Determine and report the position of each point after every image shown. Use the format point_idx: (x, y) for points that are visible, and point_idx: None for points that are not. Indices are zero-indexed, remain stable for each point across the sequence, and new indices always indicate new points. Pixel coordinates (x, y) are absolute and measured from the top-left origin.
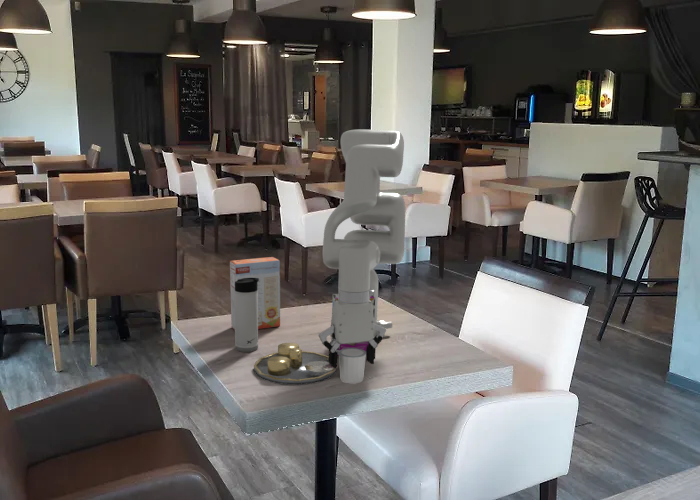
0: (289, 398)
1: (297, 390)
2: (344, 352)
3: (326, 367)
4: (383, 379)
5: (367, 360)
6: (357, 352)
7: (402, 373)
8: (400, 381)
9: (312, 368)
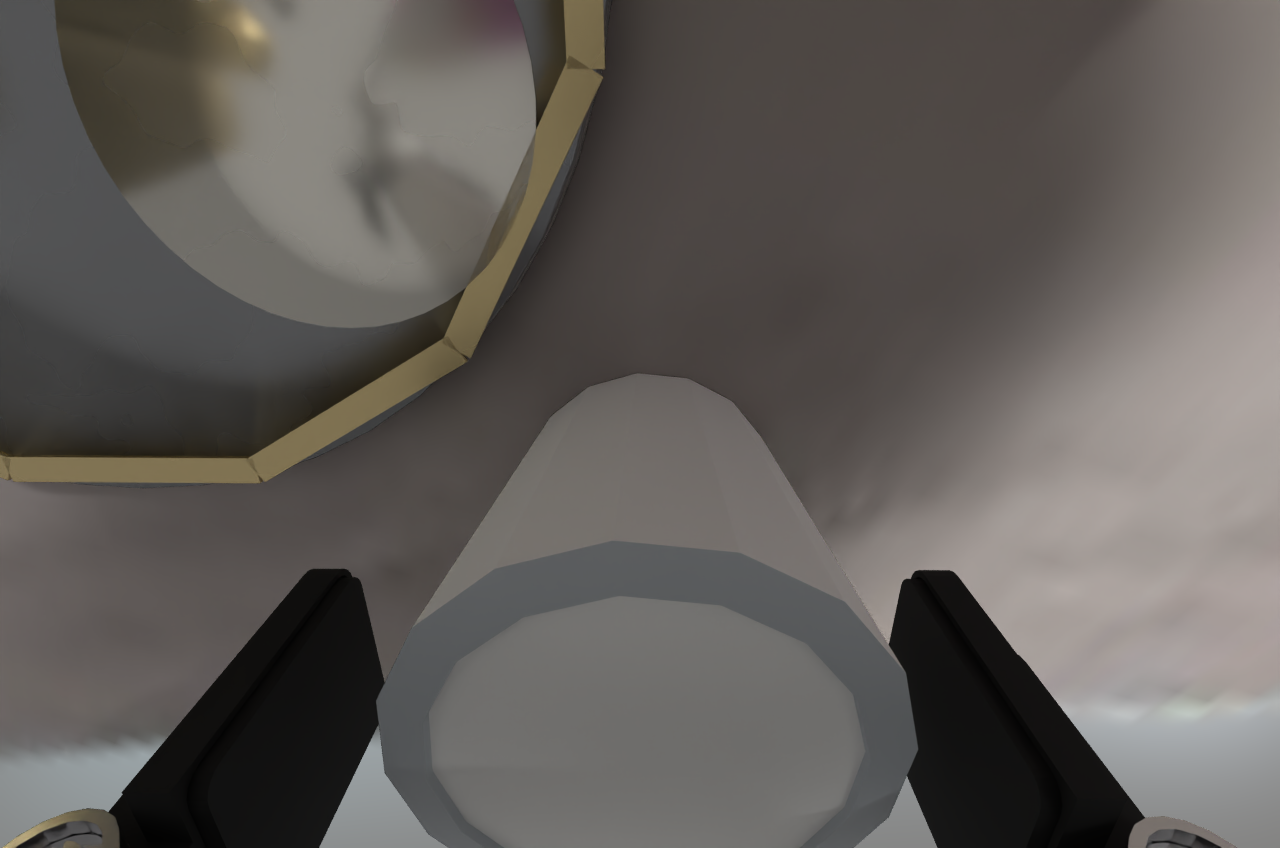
0: (13, 671)
1: (67, 563)
2: (500, 714)
3: (399, 183)
4: None
5: (899, 616)
6: (740, 773)
7: (1234, 515)
8: (1054, 661)
9: (184, 153)
